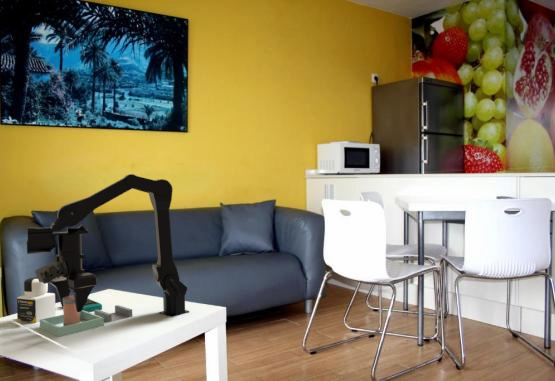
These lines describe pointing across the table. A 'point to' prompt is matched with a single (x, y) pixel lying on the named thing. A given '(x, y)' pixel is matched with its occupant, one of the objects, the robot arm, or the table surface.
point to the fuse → (70, 311)
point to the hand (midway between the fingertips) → (71, 308)
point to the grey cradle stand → (115, 314)
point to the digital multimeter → (91, 306)
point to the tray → (91, 323)
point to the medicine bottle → (35, 302)
